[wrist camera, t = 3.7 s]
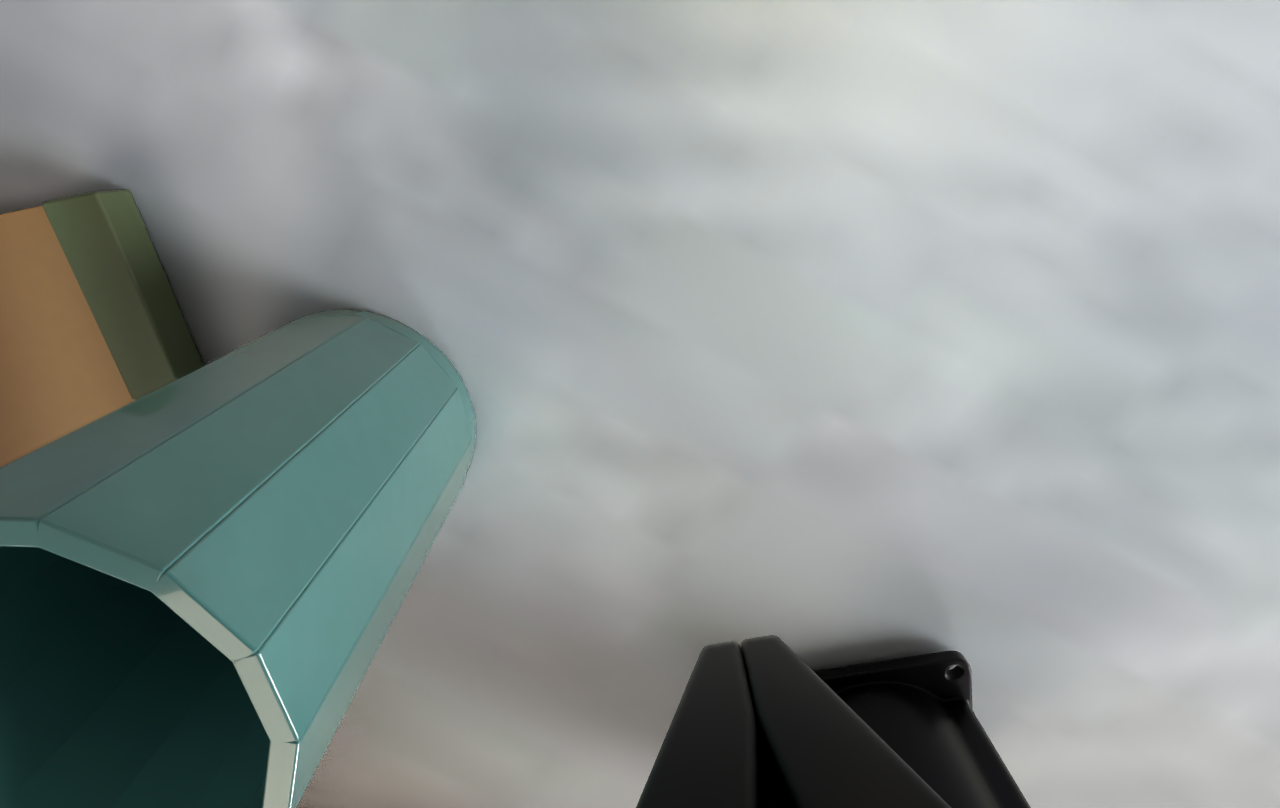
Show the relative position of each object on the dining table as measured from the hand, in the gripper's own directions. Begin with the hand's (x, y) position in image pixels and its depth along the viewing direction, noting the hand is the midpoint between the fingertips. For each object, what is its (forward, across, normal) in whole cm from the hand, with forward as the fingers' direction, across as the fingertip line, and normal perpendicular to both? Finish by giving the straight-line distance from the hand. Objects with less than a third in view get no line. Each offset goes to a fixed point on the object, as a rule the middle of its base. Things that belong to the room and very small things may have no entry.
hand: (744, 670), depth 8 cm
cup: (+12, +9, 0) cm, 15 cm away
